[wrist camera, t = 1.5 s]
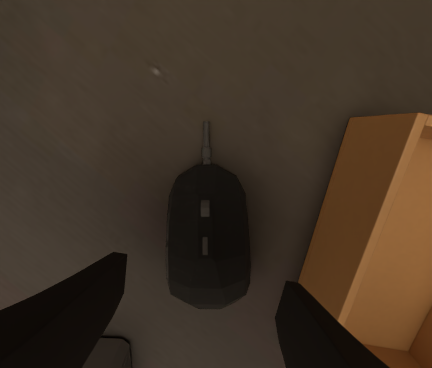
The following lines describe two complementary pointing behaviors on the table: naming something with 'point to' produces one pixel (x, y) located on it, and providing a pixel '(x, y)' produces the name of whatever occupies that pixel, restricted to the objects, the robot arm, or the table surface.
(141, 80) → the table surface
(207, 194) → the gaming mouse
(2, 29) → the table surface
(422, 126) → the carton
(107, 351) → the walkie-talkie
